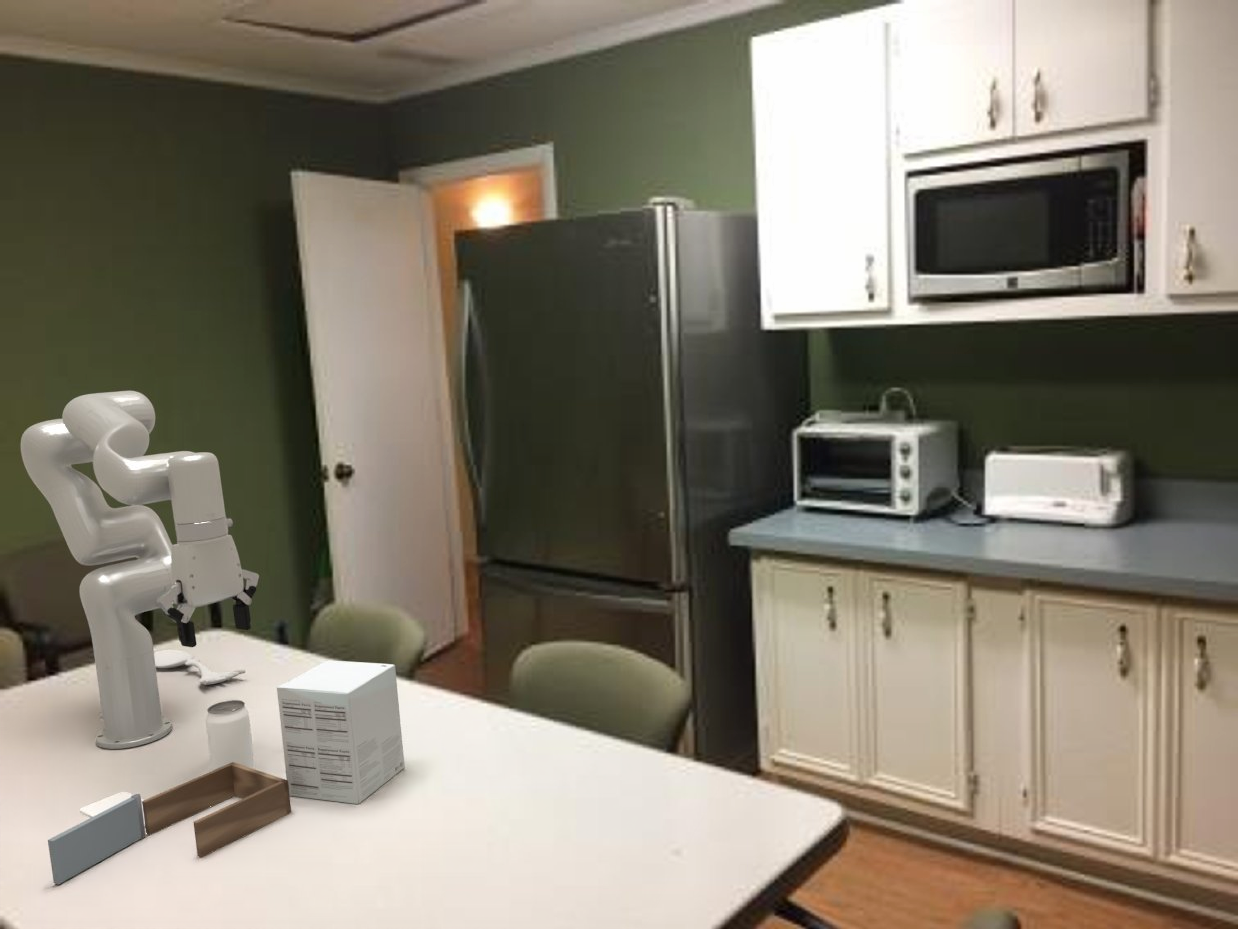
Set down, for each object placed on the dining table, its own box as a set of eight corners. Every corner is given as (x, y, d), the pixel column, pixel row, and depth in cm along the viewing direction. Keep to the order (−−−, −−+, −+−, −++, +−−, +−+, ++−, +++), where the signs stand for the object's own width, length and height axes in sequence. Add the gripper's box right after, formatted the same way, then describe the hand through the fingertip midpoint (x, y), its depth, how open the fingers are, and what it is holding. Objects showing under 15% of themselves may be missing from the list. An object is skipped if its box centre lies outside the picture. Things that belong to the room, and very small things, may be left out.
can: (241, 787, 161) (232, 714, 159) (204, 786, 162) (195, 713, 161) (263, 769, 167) (255, 699, 166) (227, 768, 169) (219, 698, 167)
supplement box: (337, 760, 169) (326, 658, 167) (406, 768, 165) (396, 663, 163) (285, 796, 157) (274, 687, 155) (359, 805, 153) (348, 692, 150)
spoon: (206, 696, 205) (204, 679, 205) (140, 667, 227) (138, 652, 227) (248, 683, 212) (247, 667, 211) (180, 656, 234) (178, 641, 233)
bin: (146, 834, 147) (141, 801, 147) (236, 792, 159) (232, 762, 159) (200, 857, 140) (196, 823, 139) (291, 812, 151) (288, 780, 151)
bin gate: (141, 834, 147) (136, 793, 146) (147, 835, 147) (142, 794, 146) (53, 883, 135) (47, 839, 134) (59, 885, 134) (53, 840, 133)
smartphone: (124, 790, 162) (175, 812, 153) (124, 795, 162) (175, 817, 153) (77, 809, 156) (127, 833, 147) (77, 814, 156) (128, 838, 147)
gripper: (235, 521, 170) (249, 621, 172) (136, 542, 156) (152, 651, 158) (263, 521, 166) (277, 624, 168) (164, 543, 152) (180, 655, 154)
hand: (216, 637), depth 163 cm, fingers open, 9 cm apart
